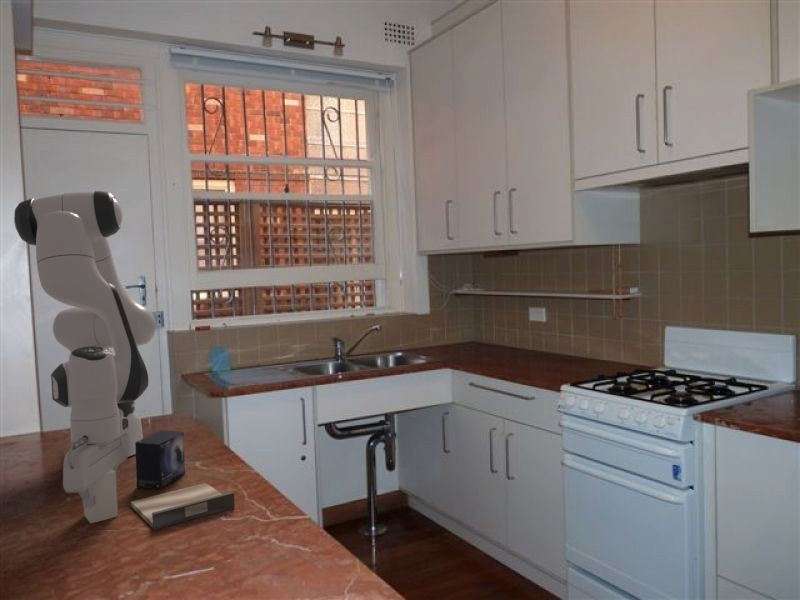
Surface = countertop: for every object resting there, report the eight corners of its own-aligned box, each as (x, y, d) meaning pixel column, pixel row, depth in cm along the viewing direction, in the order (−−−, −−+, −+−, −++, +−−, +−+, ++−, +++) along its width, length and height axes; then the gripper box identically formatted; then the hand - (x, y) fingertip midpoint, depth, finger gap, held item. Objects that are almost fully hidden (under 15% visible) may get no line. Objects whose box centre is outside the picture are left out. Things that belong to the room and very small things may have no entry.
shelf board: (130, 506, 132) (130, 492, 132) (206, 487, 142) (205, 474, 142) (155, 530, 120) (154, 514, 120) (235, 507, 130) (234, 493, 130)
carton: (84, 515, 128) (81, 471, 127) (112, 508, 131) (109, 465, 130) (90, 523, 124) (88, 478, 123) (119, 516, 127) (116, 471, 126)
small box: (161, 490, 141) (159, 443, 140) (135, 488, 142) (132, 442, 141) (187, 473, 151) (185, 430, 150) (162, 472, 152) (160, 429, 152)
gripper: (85, 445, 116) (90, 519, 117) (133, 416, 136) (136, 479, 137) (51, 445, 116) (55, 520, 117) (103, 417, 136) (107, 480, 137)
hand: (99, 498), depth 127 cm, fingers closed on carton, 7 cm apart
